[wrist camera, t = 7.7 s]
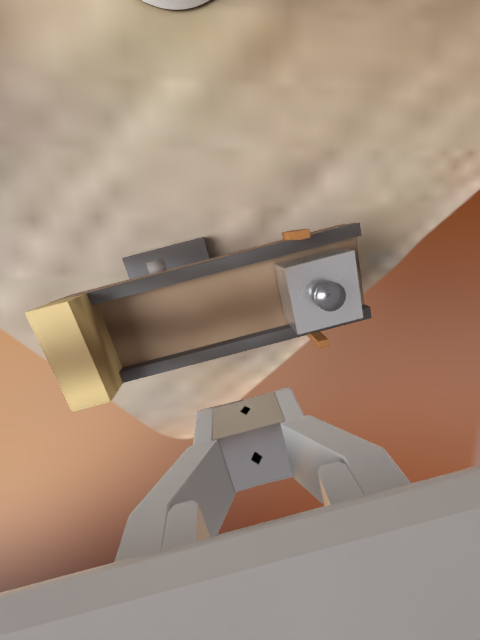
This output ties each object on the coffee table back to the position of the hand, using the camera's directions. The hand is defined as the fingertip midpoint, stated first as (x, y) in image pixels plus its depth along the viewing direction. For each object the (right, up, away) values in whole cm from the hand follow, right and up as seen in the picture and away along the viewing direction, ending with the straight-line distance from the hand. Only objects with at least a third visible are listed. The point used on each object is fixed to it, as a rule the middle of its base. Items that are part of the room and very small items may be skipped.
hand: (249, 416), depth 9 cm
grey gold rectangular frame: (-2, +7, +25) cm, 26 cm away
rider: (+6, +6, +15) cm, 17 cm away
